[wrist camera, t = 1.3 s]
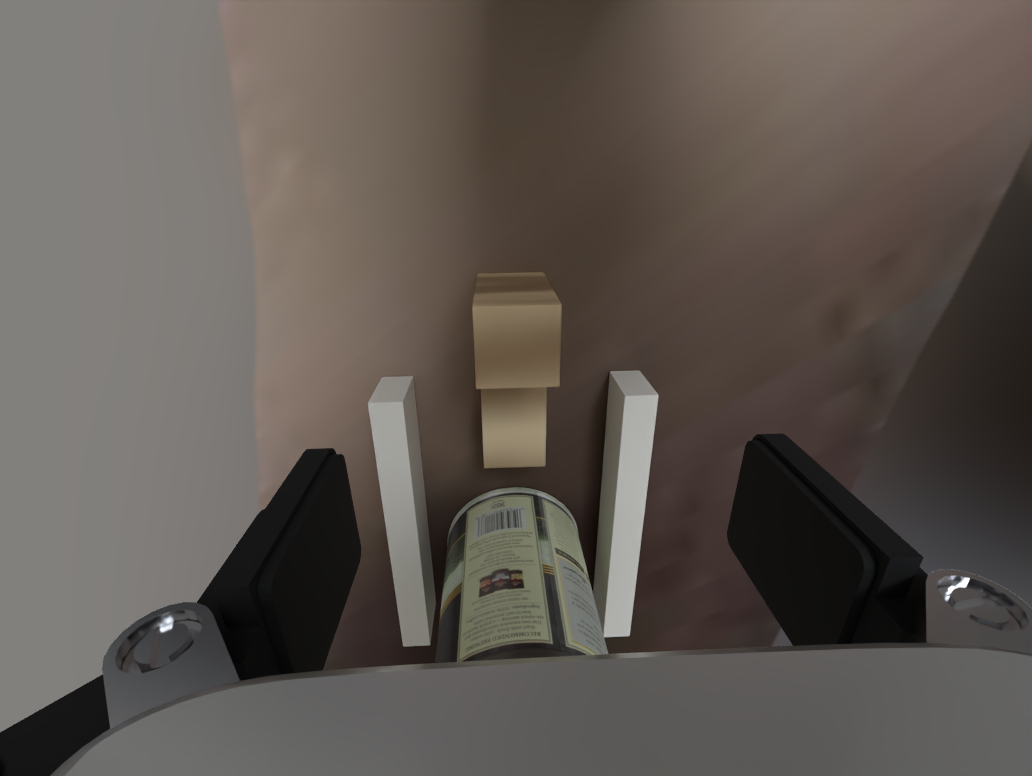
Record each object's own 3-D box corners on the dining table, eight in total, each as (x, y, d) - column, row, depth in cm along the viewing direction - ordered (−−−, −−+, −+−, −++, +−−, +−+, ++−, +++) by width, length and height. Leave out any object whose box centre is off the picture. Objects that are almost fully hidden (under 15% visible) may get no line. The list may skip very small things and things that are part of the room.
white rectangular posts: (382, 376, 31) (367, 402, 28) (639, 370, 32) (658, 394, 28) (411, 603, 39) (403, 646, 36) (616, 594, 40) (629, 636, 36)
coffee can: (504, 609, 40) (511, 814, 27) (419, 535, 37) (379, 729, 24) (605, 545, 38) (665, 735, 25) (525, 460, 34) (545, 629, 21)
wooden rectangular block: (477, 273, 29) (472, 306, 21) (543, 271, 29) (561, 304, 21) (484, 444, 34) (482, 523, 26) (541, 443, 34) (555, 521, 26)
